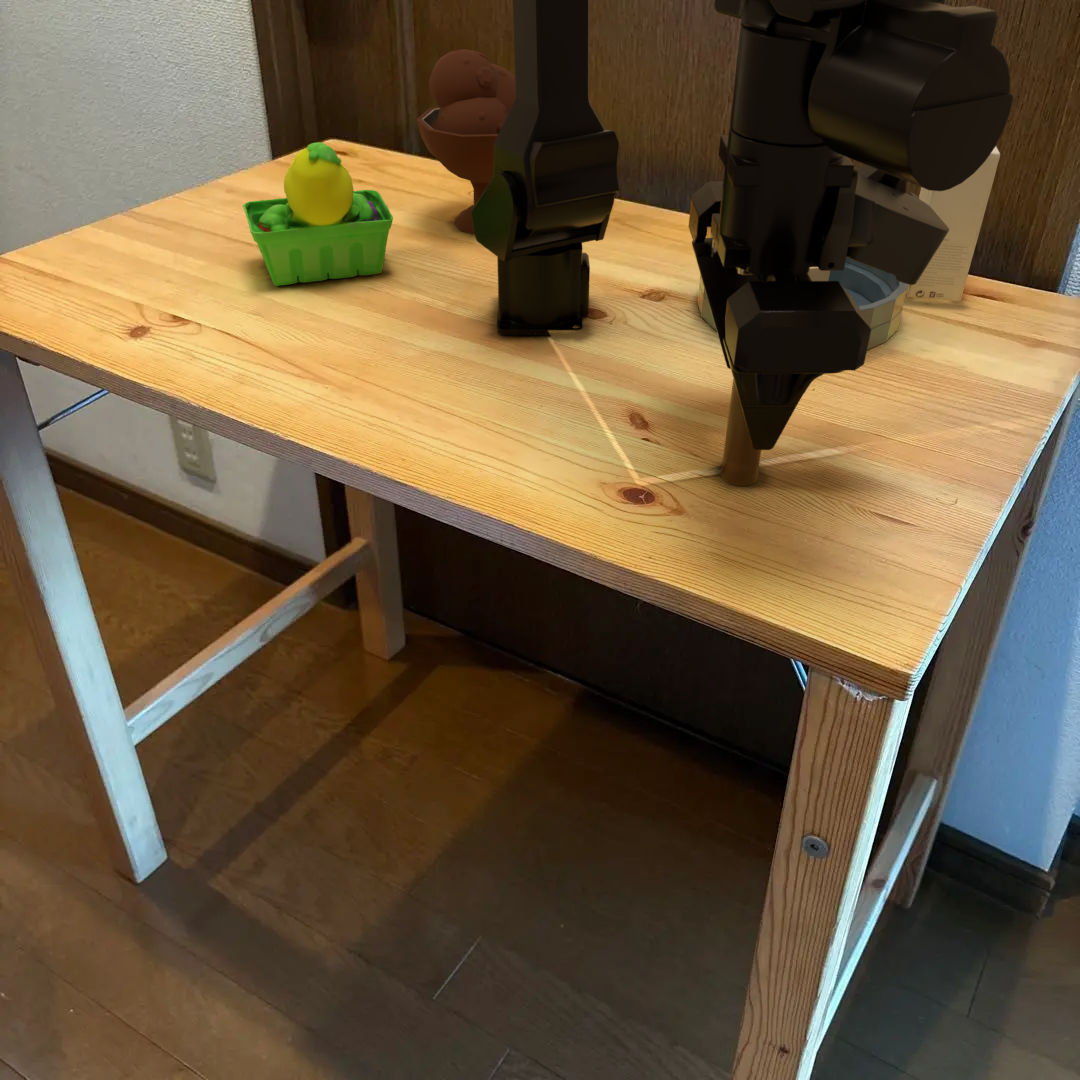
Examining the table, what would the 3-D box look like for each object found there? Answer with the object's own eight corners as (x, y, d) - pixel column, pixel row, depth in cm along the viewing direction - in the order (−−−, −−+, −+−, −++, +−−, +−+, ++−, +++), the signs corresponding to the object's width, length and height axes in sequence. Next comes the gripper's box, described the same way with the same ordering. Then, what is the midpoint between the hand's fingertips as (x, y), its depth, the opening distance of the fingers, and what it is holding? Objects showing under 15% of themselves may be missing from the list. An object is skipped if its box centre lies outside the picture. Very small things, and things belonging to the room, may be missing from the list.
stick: (723, 486, 62) (746, 318, 56) (718, 466, 64) (739, 300, 57) (759, 486, 62) (786, 317, 56) (753, 466, 64) (779, 300, 57)
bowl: (712, 363, 75) (718, 312, 72) (686, 277, 87) (691, 231, 84) (922, 363, 75) (935, 312, 72) (867, 277, 87) (877, 230, 84)
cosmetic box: (960, 308, 82) (1002, 154, 75) (905, 303, 83) (940, 150, 75) (952, 277, 87) (990, 129, 80) (899, 273, 88) (933, 126, 80)
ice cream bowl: (502, 254, 90) (498, 71, 81) (401, 229, 95) (386, 53, 86) (564, 217, 98) (567, 44, 88) (467, 195, 102) (460, 29, 93)
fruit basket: (381, 244, 92) (369, 112, 85) (403, 283, 86) (391, 143, 79) (251, 260, 89) (227, 124, 83) (263, 301, 83) (238, 158, 76)
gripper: (1023, 194, 43) (935, 498, 53) (898, 79, 58) (847, 333, 68) (758, 195, 43) (718, 498, 53) (700, 79, 58) (677, 333, 68)
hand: (748, 405), depth 60 cm, fingers open, 9 cm apart
